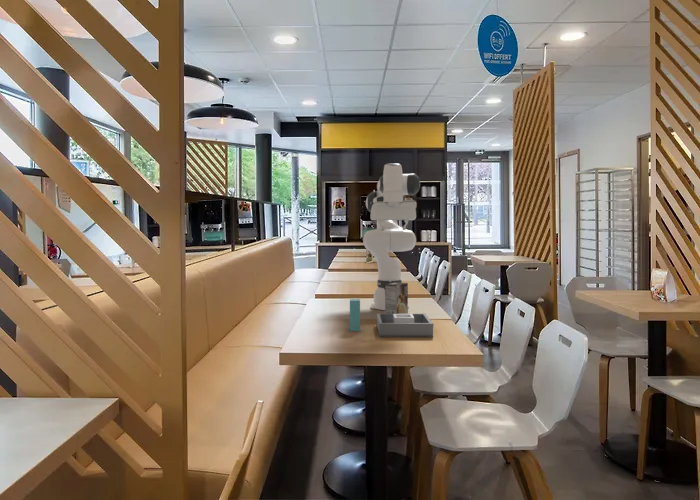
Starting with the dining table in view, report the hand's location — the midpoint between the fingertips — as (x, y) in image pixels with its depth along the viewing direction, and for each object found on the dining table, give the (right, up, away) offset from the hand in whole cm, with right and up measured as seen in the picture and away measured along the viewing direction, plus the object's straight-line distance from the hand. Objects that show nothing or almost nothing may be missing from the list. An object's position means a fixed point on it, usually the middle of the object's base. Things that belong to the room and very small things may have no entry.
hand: (393, 230), depth 217 cm
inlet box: (+2, -40, -24) cm, 47 cm away
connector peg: (-17, -40, -22) cm, 49 cm away
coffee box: (+1, -39, -3) cm, 40 cm away
